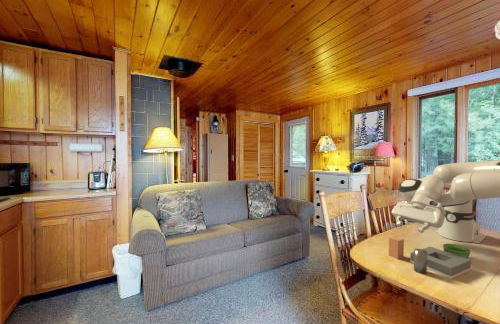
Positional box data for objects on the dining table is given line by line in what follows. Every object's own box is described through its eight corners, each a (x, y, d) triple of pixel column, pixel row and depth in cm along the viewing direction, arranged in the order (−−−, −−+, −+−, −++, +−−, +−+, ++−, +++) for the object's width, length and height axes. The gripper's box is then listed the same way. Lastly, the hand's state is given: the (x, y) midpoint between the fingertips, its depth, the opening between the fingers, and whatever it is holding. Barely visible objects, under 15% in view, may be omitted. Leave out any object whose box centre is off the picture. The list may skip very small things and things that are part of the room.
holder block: (429, 255, 103) (430, 246, 103) (470, 270, 90) (470, 259, 90) (410, 262, 97) (410, 252, 97) (450, 278, 84) (451, 268, 84)
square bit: (394, 253, 105) (394, 236, 105) (403, 257, 102) (403, 239, 101) (388, 255, 104) (389, 237, 103) (397, 259, 100) (398, 240, 99)
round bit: (417, 267, 93) (418, 247, 92) (429, 272, 89) (429, 251, 89) (411, 270, 91) (412, 249, 91) (422, 274, 87) (423, 254, 87)
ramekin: (444, 251, 107) (445, 241, 107) (471, 257, 101) (472, 247, 100) (440, 257, 101) (441, 247, 101) (469, 264, 95) (469, 254, 95)
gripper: (396, 196, 117) (383, 218, 113) (445, 204, 99) (431, 231, 95) (402, 204, 119) (389, 225, 116) (450, 213, 101) (437, 240, 97)
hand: (408, 228), depth 105 cm, fingers open, 8 cm apart
